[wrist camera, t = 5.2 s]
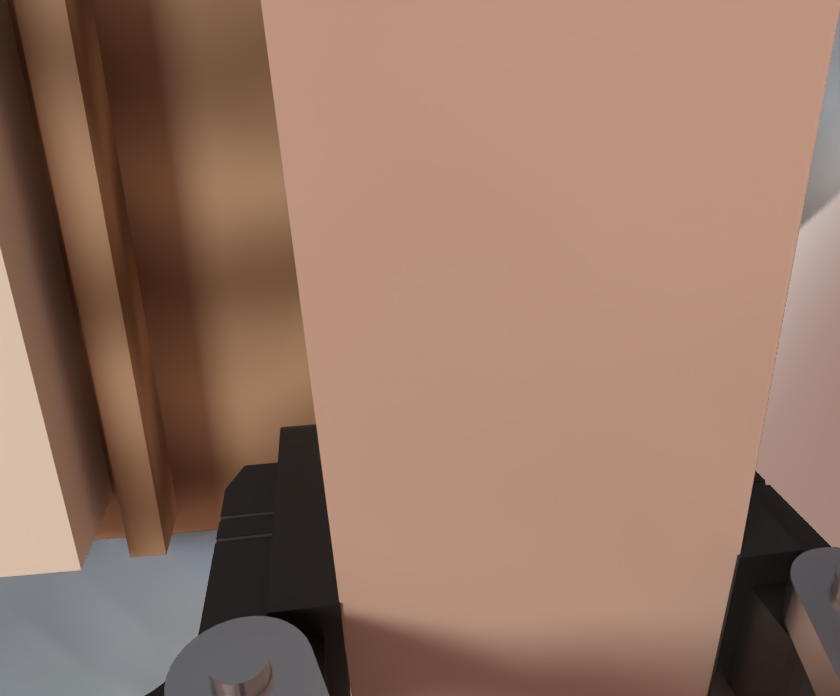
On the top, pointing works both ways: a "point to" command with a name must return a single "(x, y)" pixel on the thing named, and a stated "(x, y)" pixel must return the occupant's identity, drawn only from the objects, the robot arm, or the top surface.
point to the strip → (39, 363)
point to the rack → (170, 244)
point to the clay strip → (542, 320)
